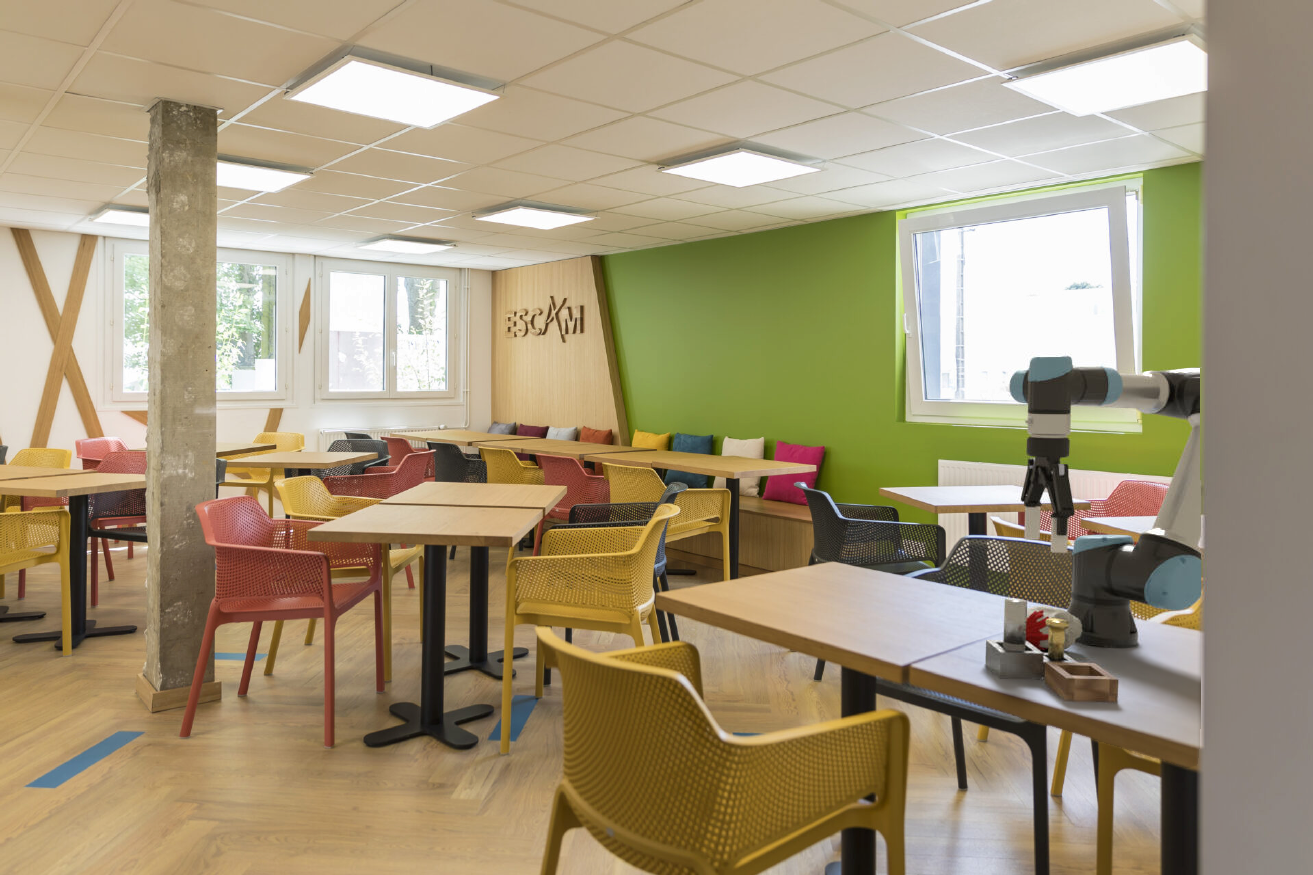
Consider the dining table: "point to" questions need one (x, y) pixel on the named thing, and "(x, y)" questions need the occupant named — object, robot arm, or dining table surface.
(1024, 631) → the silver metal cylinder
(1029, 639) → the white and red lump
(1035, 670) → the socket
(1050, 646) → the gold bolt
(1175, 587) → the robot arm
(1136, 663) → the dining table surface
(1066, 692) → the wooden box
